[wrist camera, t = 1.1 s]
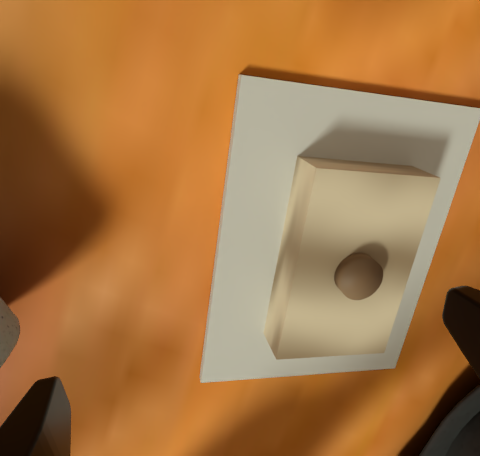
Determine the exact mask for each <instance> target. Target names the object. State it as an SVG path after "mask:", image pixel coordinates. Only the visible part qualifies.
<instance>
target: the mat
mask: <svg viewBox="0 0 480 456" xmlns="http://www.w3.org/2000/svg"><path fill="white" fill-rule="evenodd" d="M479 120H480V108H475V107H468V106H461V105H454V104H447V103H440V102H433V101H425V100H418V99H411V98H404V97H397V96H390V95H383V94H376V93H369V92H361V91H354V90H347V89H340V88H333V87H326V86H319V85H312V84H305V83H297V82H290V81H283V80H276V79H269V78H262V77H255V76H248V75H241V74H239V77H238V85H237V92H236V100H235V108H234V116H233V123H232V131H231V139H230V146H229V154H228V162H227V170H226V177H225V185H224V193H223V200H222V208H221V216H220V224H219V231H218V239H217V247H216V254H215V262H214V270H213V278H212V285H211V293H210V301H209V308H208V316H207V324H206V332H205V339H204V347H203V355H202V363H201V370H200V381H201V383H205V382H218V381H232V380H245V379H258V378H272V377H285V376H299V375H312V374H325V373H339V372H352V371H366V370H379V369H392V368H395V367H396V364H397V361H398V358H399V355H400V352H401V349H402V346H403V343H404V340H405V337H406V334H407V331H408V328H409V326H410V323H411V320H412V317H413V314H414V311H415V308H416V305H417V302H418V299H419V296H420V293H421V290H422V287H423V284H424V282H425V279H426V276H427V273H428V270H429V267H430V264H431V261H432V258H433V255H434V252H435V249H436V246H437V243H438V240H439V238H440V235H441V232H442V229H443V226H444V223H445V220H446V217H447V214H448V211H449V208H450V205H451V202H452V199H453V196H454V194H455V191H456V188H457V185H458V182H459V179H460V176H461V173H462V170H463V167H464V164H465V161H466V158H467V155H468V152H469V150H470V147H471V144H472V141H473V138H474V135H475V132H476V129H477V126H478V123H479ZM297 156H304V157H316V158H327V159H339V160H350V161H362V162H373V163H385V164H396V165H408V166H414V167H416V168H418V169H421V170H423V171H426V172H428V173H430V174H433V175H435V176H437V177H440V178H441V179H440V182H439V185H438V188H437V191H436V195H435V198H434V201H433V204H432V207H431V210H430V213H429V216H428V219H427V222H426V225H425V229H424V232H423V235H422V238H421V241H420V244H419V247H418V250H417V253H416V256H415V259H414V262H413V266H412V269H411V272H410V275H409V278H408V281H407V284H406V287H405V290H404V293H403V296H402V300H401V303H400V306H399V309H398V312H397V315H396V318H395V321H394V324H393V327H392V330H391V333H390V337H389V340H388V343H387V346H386V349H385V352H384V353H376V354H360V355H344V356H328V357H311V358H295V359H279V360H276V358H275V356H274V354H273V352H272V350H271V348H270V346H269V344H268V342H267V340H266V338H265V336H264V334H263V333H264V328H265V323H266V317H267V312H268V307H269V302H270V296H271V291H272V286H273V281H274V275H275V270H276V265H277V260H278V254H279V249H280V244H281V239H282V234H283V228H284V223H285V218H286V213H287V207H288V202H289V197H290V192H291V186H292V181H293V176H294V171H295V165H296V160H297Z"/></svg>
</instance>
